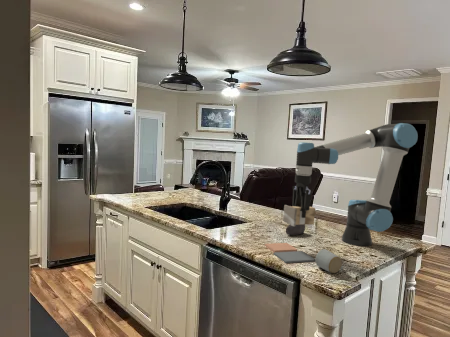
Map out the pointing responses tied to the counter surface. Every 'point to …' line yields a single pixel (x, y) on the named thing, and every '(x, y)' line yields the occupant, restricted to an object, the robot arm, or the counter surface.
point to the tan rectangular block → (297, 215)
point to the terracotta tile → (280, 247)
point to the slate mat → (294, 257)
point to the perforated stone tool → (295, 229)
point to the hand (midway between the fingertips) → (299, 222)
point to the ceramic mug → (328, 261)
